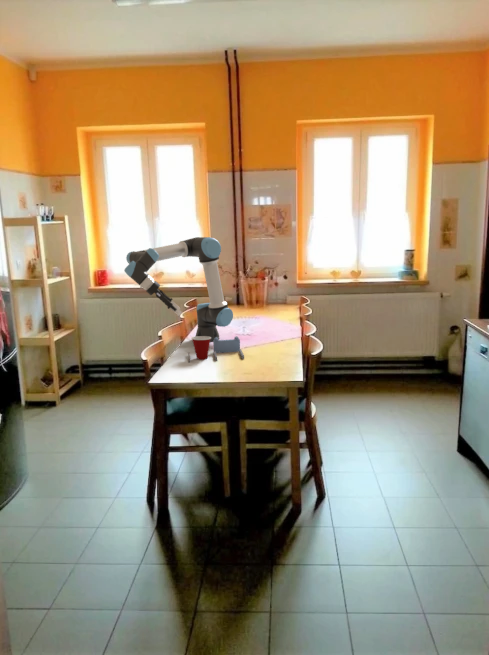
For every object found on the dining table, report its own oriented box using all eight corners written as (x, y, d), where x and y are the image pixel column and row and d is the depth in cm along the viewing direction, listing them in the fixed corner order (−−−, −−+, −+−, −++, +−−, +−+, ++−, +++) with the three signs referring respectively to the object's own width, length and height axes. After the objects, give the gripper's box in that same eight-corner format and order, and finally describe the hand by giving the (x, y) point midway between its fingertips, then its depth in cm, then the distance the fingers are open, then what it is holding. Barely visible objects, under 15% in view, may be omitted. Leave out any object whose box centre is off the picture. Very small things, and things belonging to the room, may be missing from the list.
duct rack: (187, 353, 285) (186, 339, 283) (240, 350, 288) (239, 336, 287) (188, 362, 268) (187, 346, 266) (244, 359, 271) (243, 343, 269)
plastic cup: (215, 356, 279) (214, 335, 276) (207, 361, 269) (206, 339, 266) (197, 355, 282) (196, 334, 280) (189, 360, 272) (187, 338, 270)
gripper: (145, 287, 278) (174, 313, 284) (145, 293, 254) (176, 321, 260) (154, 277, 278) (183, 303, 284) (155, 282, 254) (186, 310, 260)
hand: (179, 312), depth 272 cm, fingers open, 13 cm apart
